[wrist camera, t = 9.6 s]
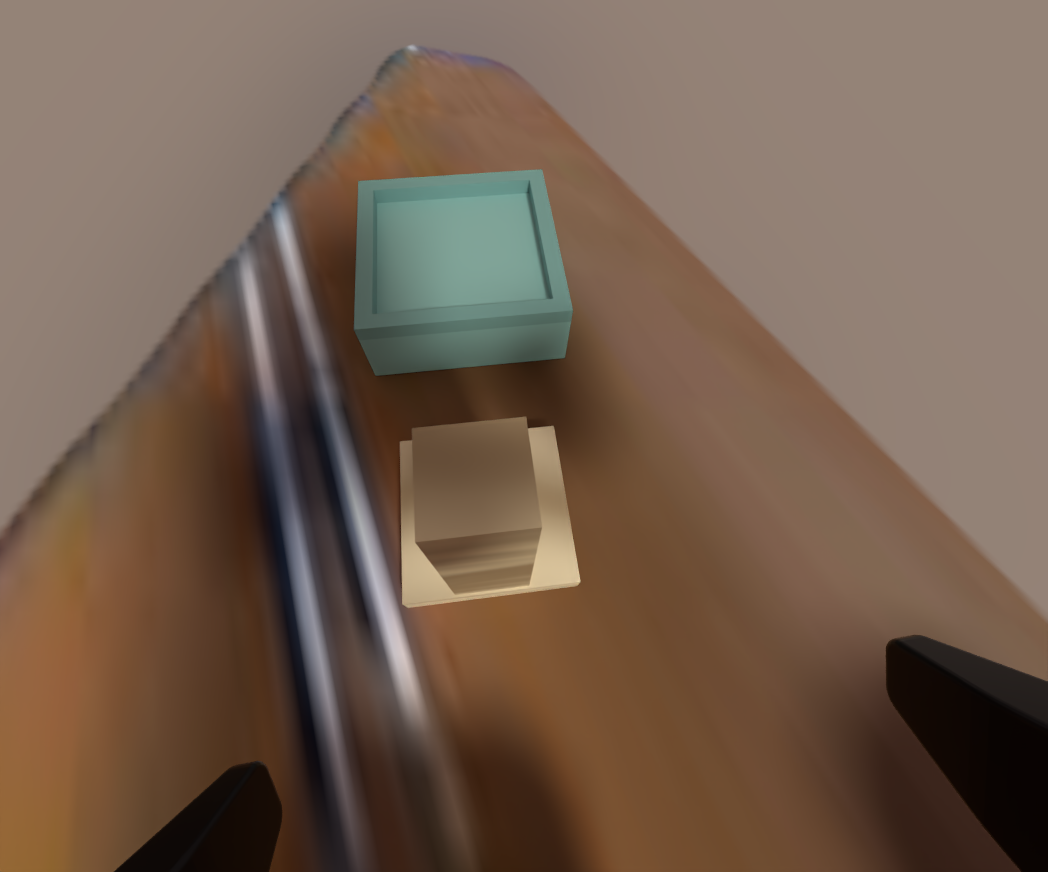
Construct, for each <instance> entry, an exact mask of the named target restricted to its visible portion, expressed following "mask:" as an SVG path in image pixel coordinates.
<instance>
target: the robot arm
mask: <svg viewBox="0 0 1048 872" xmlns="http://www.w3.org/2000/svg"><path fill="white" fill-rule="evenodd" d="M886 688H887V692H888V696H889V698H890V700H891V702H892V704H893V706H894V707H895V709H896V710H897V711H898V713H899V714H900V715H901V717H902V718H903V720H904V721H905V722H906V724H907V725H908V726H909V728H910V729H911V730H912V732H913V733H914V734H915V736H916V737H917V739H918V740H919V741H920V743H921V744H922V745H923V747H924V748H925V749H926V751H927V752H928V753H929V755H930V756H931V757H932V759H933V760H934V762H935V763H936V764H937V766H938V767H939V768H940V770H941V771H942V772H943V774H944V775H945V776H946V778H947V779H948V781H949V782H950V783H951V785H952V786H953V787H954V789H955V790H956V791H957V793H958V794H959V795H960V797H961V798H962V799H963V801H964V802H965V804H966V805H967V806H968V807H969V809H970V810H971V811H972V813H973V814H974V815H975V817H976V818H977V819H978V820H979V822H980V823H981V824H982V826H983V827H984V828H985V829H986V830H987V832H988V833H989V834H990V835H991V836H992V838H993V839H994V840H995V841H996V842H997V844H998V845H999V846H1000V847H1001V848H1002V850H1003V851H1004V852H1005V853H1006V854H1007V855H1008V857H1009V858H1010V859H1011V860H1012V861H1013V862H1014V864H1015V865H1016V866H1017V867H1018V868H1019V869H1020V871H1021V872H1048V681H1045V680H1043V679H1040V678H1037V677H1034V676H1032V675H1029V674H1026V673H1023V672H1021V671H1018V670H1015V669H1012V668H1010V667H1007V666H1004V665H1002V664H999V663H996V662H993V661H991V660H988V659H985V658H982V657H980V656H977V655H974V654H971V653H969V652H966V651H963V650H961V649H958V648H955V647H952V646H950V645H947V644H944V643H941V642H939V641H936V640H933V639H930V638H928V637H925V636H921V635H911V636H906V637H901V638H896V639H892V640H890V641H889V642H888V644H887V646H886ZM281 822H282V805H281V801H280V799H279V796H278V794H277V791H276V788H275V786H274V783H273V781H272V778H271V776H270V773H269V770H268V768H267V766H266V765H265V764H264V763H263V762H260V761H255V762H250V763H245V764H240V765H236V766H233V767H231V768H229V769H228V770H227V771H226V772H224V773H223V774H222V775H221V776H220V777H219V778H218V779H217V780H215V781H214V782H213V783H212V784H211V785H210V786H209V787H208V788H207V789H205V790H204V791H203V792H202V793H201V794H200V795H199V796H198V797H197V798H195V799H194V800H193V801H192V802H191V803H190V804H189V805H188V806H187V807H185V808H184V809H183V810H182V811H181V812H180V813H179V814H178V815H176V816H175V817H174V818H173V819H172V820H171V821H170V822H169V823H168V824H166V825H165V826H164V827H163V828H162V829H161V830H160V831H159V832H158V833H156V834H155V835H154V836H153V837H152V838H151V839H150V840H149V841H147V842H146V843H145V844H144V845H143V846H142V847H141V848H140V849H139V850H137V851H136V852H135V853H134V854H133V855H132V856H131V857H130V858H129V859H127V860H126V861H125V862H124V863H123V864H122V865H121V866H120V867H119V868H117V869H116V870H115V871H114V872H269V869H270V866H271V862H272V858H273V854H274V850H275V846H276V843H277V839H278V835H279V831H280V827H281Z"/></svg>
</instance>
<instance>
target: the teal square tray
mask: <svg viewBox="0 0 1048 872" xmlns="http://www.w3.org/2000/svg"><path fill="white" fill-rule="evenodd" d="M572 313H573V308H572V304H571V299H570V295H569V290H568V286H567V281H566V277H565V272H564V267H563V263H562V258H561V254H560V249H559V245H558V240H557V235H556V231H555V226H554V222H553V217H552V213H551V208H550V203H549V199H548V194H547V190H546V185H545V181H544V176H543V172H542V169H540V170H525V171H509V172H493V173H478V174H462V175H447V176H431V177H415V178H400V179H384V180H368V181H358V211H357V243H356V276H355V309H354V331H355V333H356V335H357V337H358V339H359V342H360V344H361V346H362V348H363V350H364V352H365V354H366V357H367V359H368V361H369V363H370V365H371V367H372V369H373V372H374V374H375V376H380V375H390V374H401V373H411V372H422V371H433V370H443V369H454V368H464V367H475V366H486V365H496V364H507V363H517V362H528V361H539V360H549V359H560V358H565V354H566V348H567V343H568V337H569V331H570V325H571V319H572Z"/></svg>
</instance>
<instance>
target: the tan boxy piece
mask: <svg viewBox="0 0 1048 872" xmlns="http://www.w3.org/2000/svg"><path fill="white" fill-rule="evenodd" d="M400 486H401V549H402V605H404V606H406V607H408V608H410V607H418V606H425V605H433V604H441V603H449V602H457V601H464V600H472V599H480V598H488V597H496V596H503V595H511V594H519V593H527V592H535V591H542V590H550V589H558V588H566V587H573V586H577V585H578V584H579V583H580V576H579V570H578V565H577V559H576V553H575V547H574V541H573V535H572V530H571V524H570V518H569V512H568V506H567V500H566V495H565V489H564V483H563V477H562V471H561V465H560V459H559V454H558V448H557V442H556V436H555V430H554V426H547V427H537V428H528V426H527V419H526V417H518V418H508V419H498V420H488V421H478V422H468V423H458V424H448V425H438V426H428V427H418V428H412V440H410V441H400Z"/></svg>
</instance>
